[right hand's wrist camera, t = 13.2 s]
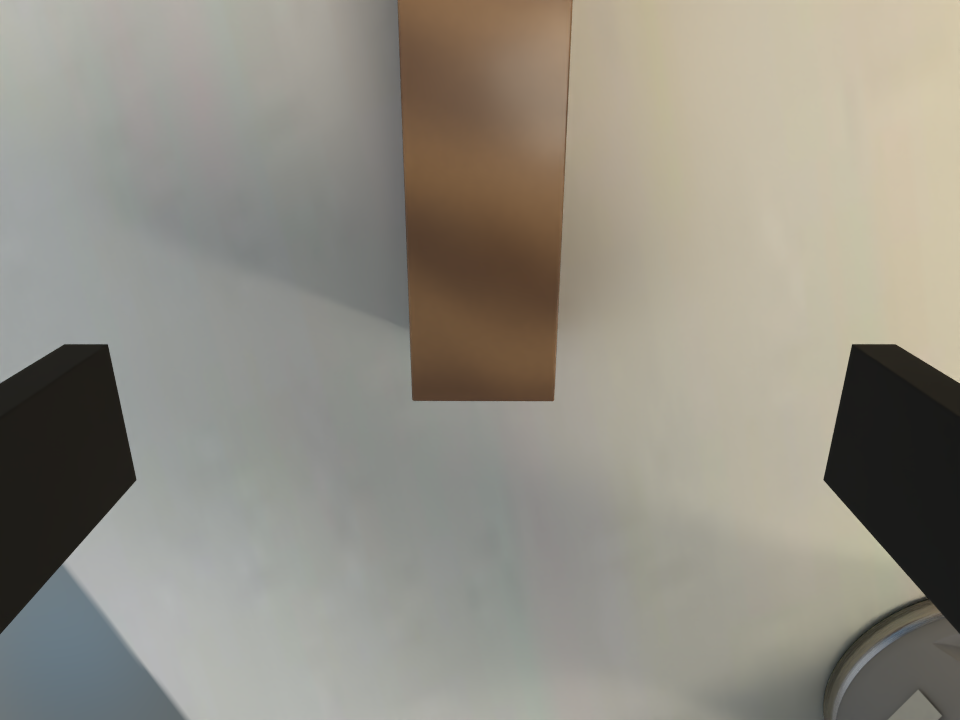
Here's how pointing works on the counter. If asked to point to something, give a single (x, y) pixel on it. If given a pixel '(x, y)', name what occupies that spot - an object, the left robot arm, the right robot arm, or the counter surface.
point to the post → (484, 193)
